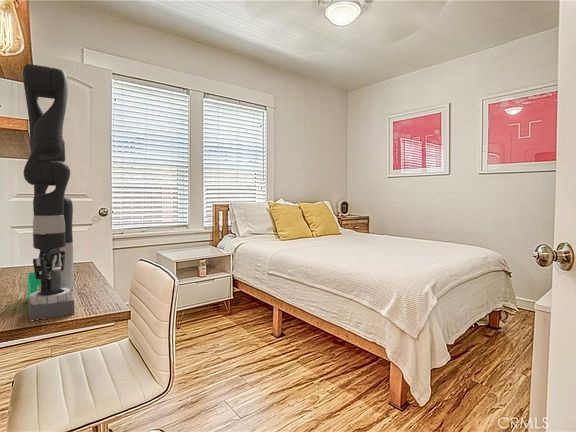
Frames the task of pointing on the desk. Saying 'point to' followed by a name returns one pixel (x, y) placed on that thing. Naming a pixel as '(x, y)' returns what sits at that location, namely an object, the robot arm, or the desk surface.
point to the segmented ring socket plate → (50, 305)
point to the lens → (54, 282)
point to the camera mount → (32, 283)
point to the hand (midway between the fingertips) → (51, 289)
